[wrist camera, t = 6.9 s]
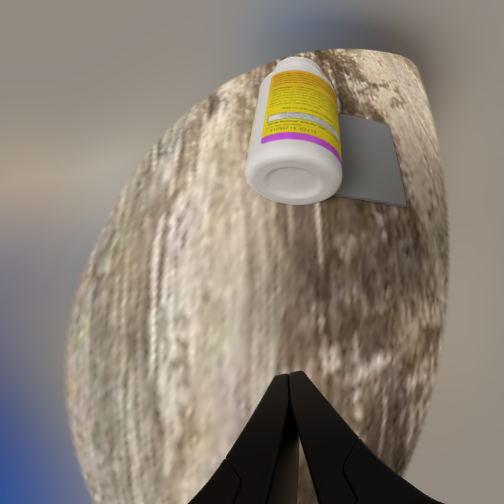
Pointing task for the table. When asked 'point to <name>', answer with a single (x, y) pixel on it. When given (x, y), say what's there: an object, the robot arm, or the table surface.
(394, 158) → the mat
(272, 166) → the supplement bottle
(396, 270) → the table surface
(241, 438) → the robot arm
